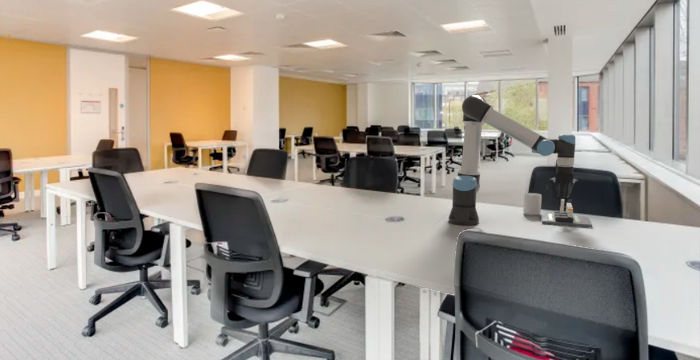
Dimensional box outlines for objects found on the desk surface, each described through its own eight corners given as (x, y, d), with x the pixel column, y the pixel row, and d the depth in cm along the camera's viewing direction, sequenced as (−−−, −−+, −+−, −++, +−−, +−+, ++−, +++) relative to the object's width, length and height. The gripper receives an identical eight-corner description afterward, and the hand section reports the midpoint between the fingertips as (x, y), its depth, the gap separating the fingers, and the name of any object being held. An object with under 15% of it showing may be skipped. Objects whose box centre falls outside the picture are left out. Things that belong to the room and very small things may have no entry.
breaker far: (566, 212, 218) (566, 204, 217) (565, 211, 220) (566, 203, 220) (570, 212, 217) (571, 204, 216) (570, 211, 219) (570, 203, 219)
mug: (540, 216, 225) (541, 196, 224) (522, 214, 229) (523, 195, 228) (541, 212, 236) (542, 192, 234) (524, 210, 240) (525, 191, 238)
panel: (542, 223, 210) (542, 216, 209) (541, 216, 226) (542, 209, 225) (592, 227, 201) (592, 220, 200) (588, 219, 217) (588, 213, 216)
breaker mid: (566, 214, 212) (567, 206, 212) (566, 213, 215) (567, 205, 214) (571, 214, 211) (572, 206, 211) (571, 213, 214) (571, 205, 213)
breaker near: (567, 217, 207) (568, 208, 206) (567, 215, 209) (567, 207, 209) (572, 217, 206) (573, 208, 205) (572, 216, 208) (572, 207, 208)
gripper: (550, 166, 205) (547, 212, 208) (580, 167, 200) (576, 215, 203) (550, 164, 212) (547, 209, 215) (579, 165, 206) (575, 212, 210)
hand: (561, 212), depth 209 cm, fingers closed
